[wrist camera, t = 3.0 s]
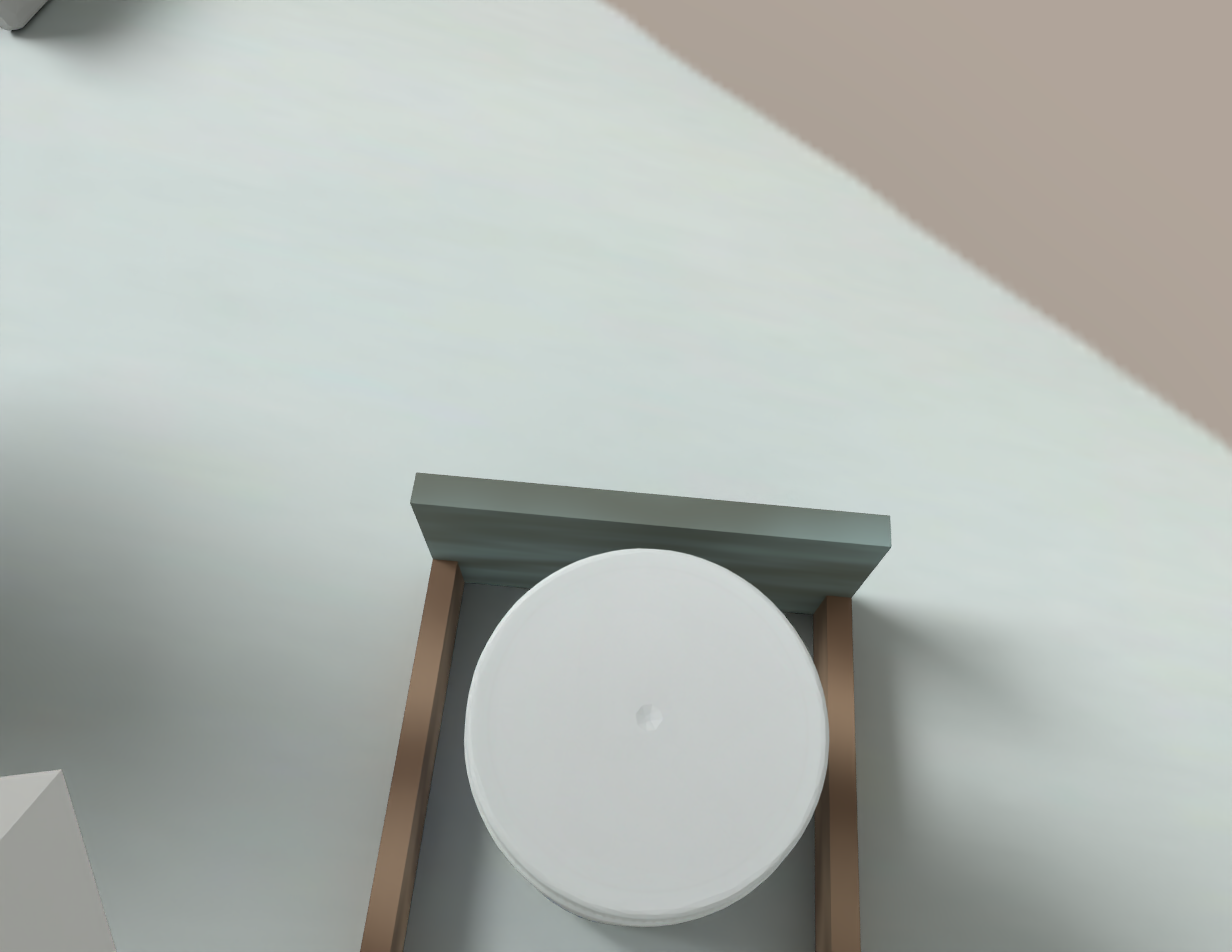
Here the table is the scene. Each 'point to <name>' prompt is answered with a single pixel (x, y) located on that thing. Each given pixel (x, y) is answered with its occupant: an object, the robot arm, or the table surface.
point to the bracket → (609, 521)
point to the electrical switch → (18, 12)
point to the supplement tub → (645, 737)
